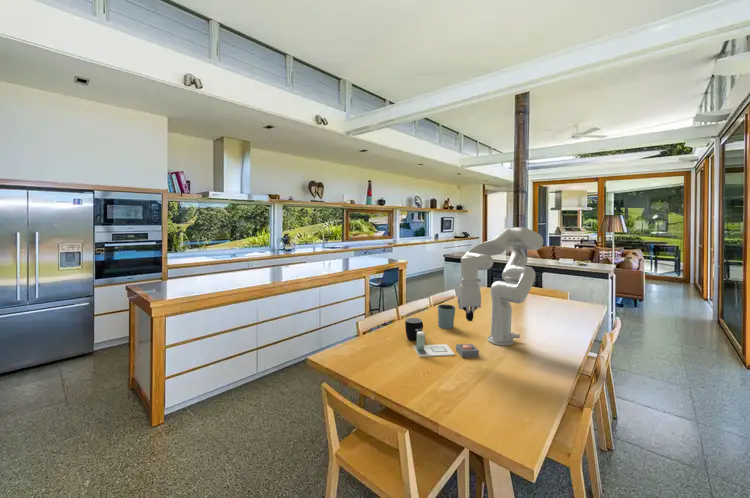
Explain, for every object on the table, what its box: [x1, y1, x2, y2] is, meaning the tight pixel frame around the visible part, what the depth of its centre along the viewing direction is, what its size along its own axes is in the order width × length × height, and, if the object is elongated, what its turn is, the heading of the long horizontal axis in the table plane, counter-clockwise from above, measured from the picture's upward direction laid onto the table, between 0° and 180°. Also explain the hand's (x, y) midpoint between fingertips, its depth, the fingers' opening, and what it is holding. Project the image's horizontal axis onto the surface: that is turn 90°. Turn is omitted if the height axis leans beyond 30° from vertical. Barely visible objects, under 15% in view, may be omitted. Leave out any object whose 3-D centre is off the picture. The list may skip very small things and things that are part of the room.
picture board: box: [413, 343, 456, 358], centre depth 162 cm, size 17×12×1 cm
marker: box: [416, 330, 426, 351], centre depth 161 cm, size 4×4×8 cm
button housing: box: [455, 343, 480, 358], centre depth 159 cm, size 8×8×3 cm
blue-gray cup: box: [437, 303, 456, 330], centre depth 196 cm, size 10×10×12 cm
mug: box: [404, 317, 424, 342], centre depth 178 cm, size 12×9×10 cm
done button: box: [462, 343, 472, 350], centre depth 159 cm, size 4×4×3 cm
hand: (469, 320), depth 158 cm, fingers closed
